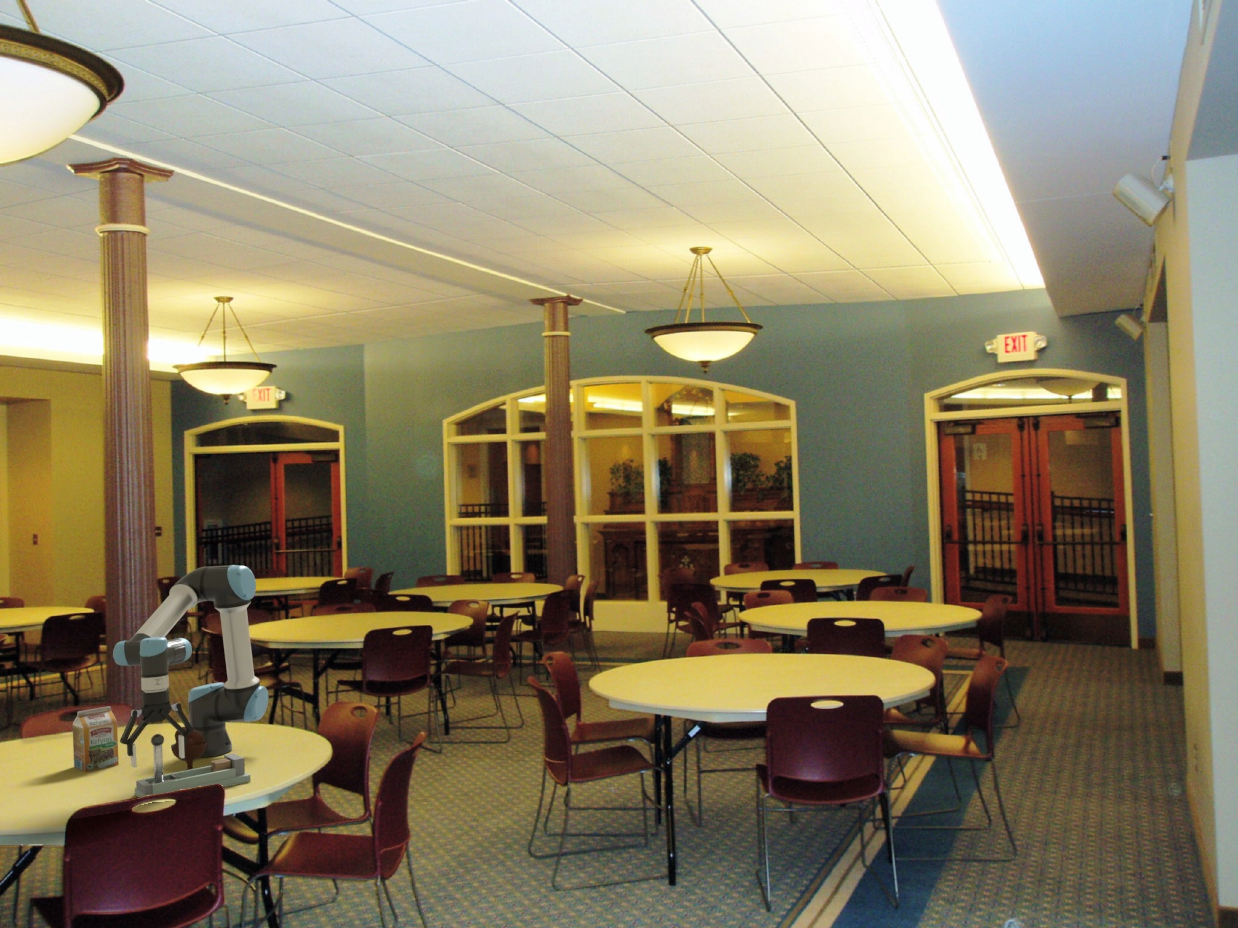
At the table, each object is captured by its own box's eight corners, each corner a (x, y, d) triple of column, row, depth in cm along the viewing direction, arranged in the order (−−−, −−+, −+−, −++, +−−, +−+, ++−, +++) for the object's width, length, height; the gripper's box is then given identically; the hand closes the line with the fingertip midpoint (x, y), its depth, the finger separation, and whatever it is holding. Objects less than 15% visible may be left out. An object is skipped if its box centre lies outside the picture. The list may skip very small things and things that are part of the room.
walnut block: (211, 775, 332) (210, 760, 332) (226, 772, 335) (225, 758, 335) (216, 778, 328) (215, 763, 328) (231, 775, 331) (230, 760, 331)
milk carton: (107, 760, 368) (104, 704, 369) (118, 764, 361) (116, 707, 361) (74, 766, 361) (71, 709, 361) (85, 771, 353) (82, 713, 354)
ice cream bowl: (186, 779, 337) (185, 731, 337) (164, 775, 342) (162, 728, 343) (215, 771, 346) (213, 723, 346) (193, 767, 351) (191, 721, 352)
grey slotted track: (134, 794, 322) (133, 770, 322) (235, 773, 341) (234, 751, 341) (147, 803, 312) (146, 778, 312) (250, 781, 330) (249, 758, 331)
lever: (148, 786, 321) (146, 733, 322) (173, 781, 326) (171, 729, 326) (155, 791, 316) (153, 736, 316) (180, 785, 320) (178, 732, 321)
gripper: (113, 698, 310) (116, 772, 309) (202, 684, 326) (205, 755, 325) (107, 695, 316) (109, 768, 315) (194, 682, 331) (197, 751, 331)
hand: (158, 762), depth 320 cm, fingers open, 13 cm apart
